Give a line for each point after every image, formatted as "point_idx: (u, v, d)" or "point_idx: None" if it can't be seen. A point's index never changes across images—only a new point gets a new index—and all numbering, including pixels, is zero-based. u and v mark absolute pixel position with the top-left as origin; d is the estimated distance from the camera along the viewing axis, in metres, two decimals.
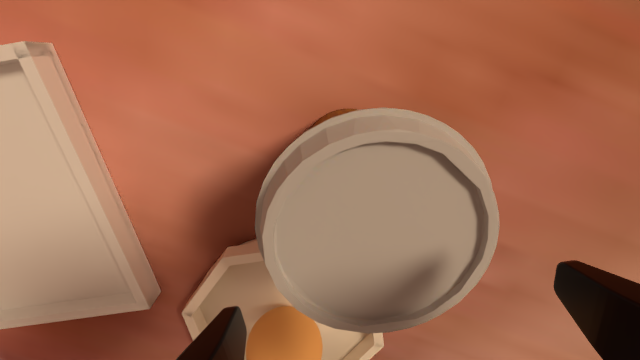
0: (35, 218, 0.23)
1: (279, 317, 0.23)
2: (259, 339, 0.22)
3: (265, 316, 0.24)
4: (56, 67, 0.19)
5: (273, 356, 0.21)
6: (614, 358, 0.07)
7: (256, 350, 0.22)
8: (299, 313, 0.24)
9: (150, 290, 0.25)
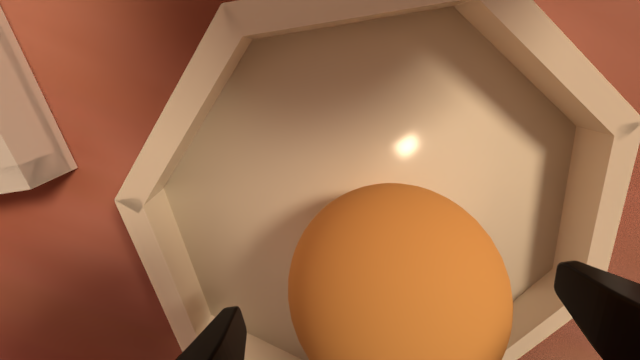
0: None
1: (390, 190, 0.08)
2: (339, 244, 0.07)
3: (341, 198, 0.09)
4: None
5: (400, 290, 0.06)
6: (614, 358, 0.07)
7: (333, 276, 0.07)
8: (433, 192, 0.09)
9: (37, 147, 0.10)
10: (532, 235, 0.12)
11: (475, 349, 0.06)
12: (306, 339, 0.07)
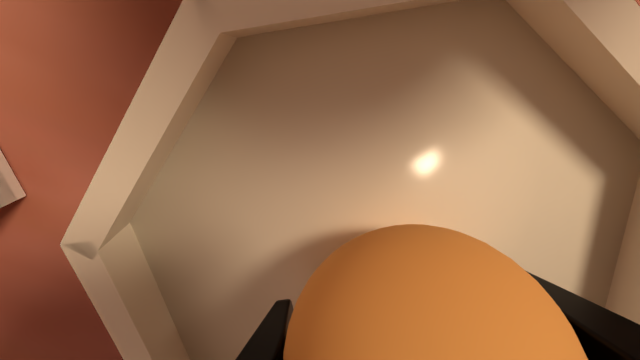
0: None
1: (423, 244, 0.06)
2: (355, 330, 0.05)
3: (353, 247, 0.06)
4: None
5: None
6: None
7: None
8: (474, 238, 0.07)
9: None
10: (582, 276, 0.10)
11: None
12: None
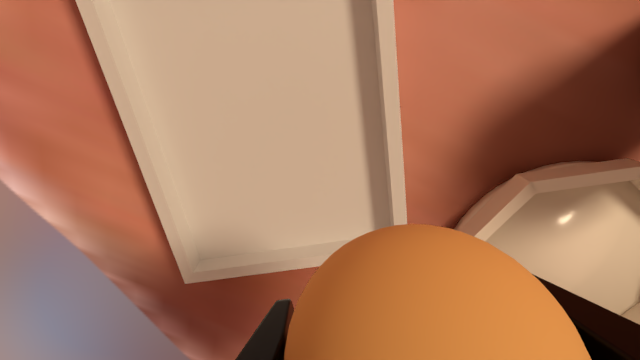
0: (287, 132, 0.18)
1: (425, 244, 0.06)
2: (357, 331, 0.05)
3: (355, 247, 0.06)
4: None
5: None
6: None
7: None
8: (477, 238, 0.07)
9: None
10: None
11: None
12: None
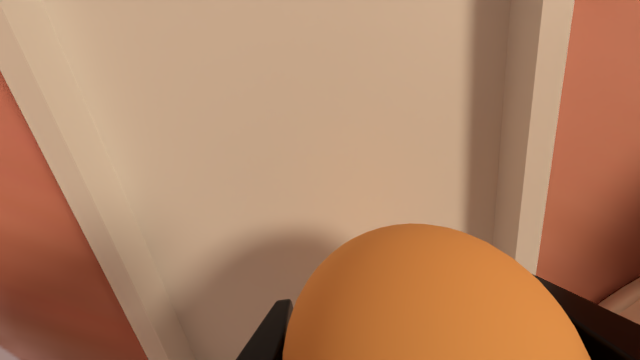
0: (344, 207, 0.11)
1: (424, 243, 0.06)
2: (356, 330, 0.05)
3: (353, 247, 0.06)
4: None
5: None
6: None
7: None
8: None
9: None
10: None
11: None
12: None
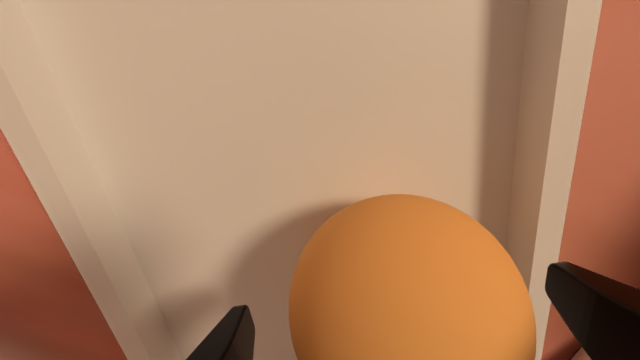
0: None
1: (401, 204, 0.07)
2: (346, 264, 0.06)
3: (346, 210, 0.08)
4: None
5: (415, 319, 0.05)
6: (603, 359, 0.07)
7: (339, 301, 0.06)
8: (445, 204, 0.08)
9: None
10: None
11: None
12: None
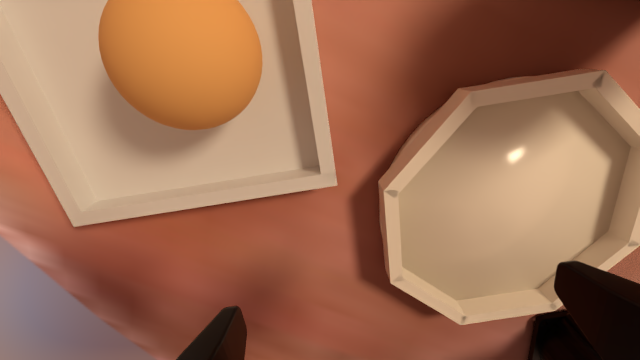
0: None
1: None
2: None
3: None
4: None
5: None
6: (614, 358, 0.07)
7: (108, 1, 0.10)
8: None
9: None
10: (599, 210, 0.20)
11: (186, 30, 0.10)
12: (101, 57, 0.11)
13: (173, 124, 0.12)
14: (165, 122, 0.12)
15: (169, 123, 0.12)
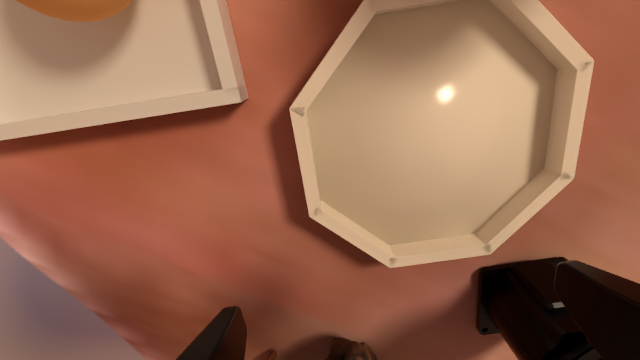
0: None
1: None
2: None
3: None
4: None
5: None
6: (614, 358, 0.07)
7: None
8: None
9: (239, 79, 0.17)
10: (531, 143, 0.19)
11: None
12: None
13: (31, 0, 0.12)
14: None
15: None
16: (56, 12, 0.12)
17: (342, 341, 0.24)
